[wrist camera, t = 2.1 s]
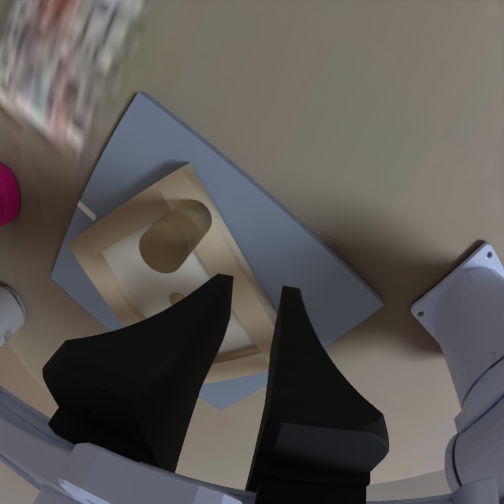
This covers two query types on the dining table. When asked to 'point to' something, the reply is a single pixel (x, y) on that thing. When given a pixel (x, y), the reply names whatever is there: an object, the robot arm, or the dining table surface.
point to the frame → (177, 267)
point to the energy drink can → (10, 313)
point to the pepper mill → (8, 196)
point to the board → (236, 219)
